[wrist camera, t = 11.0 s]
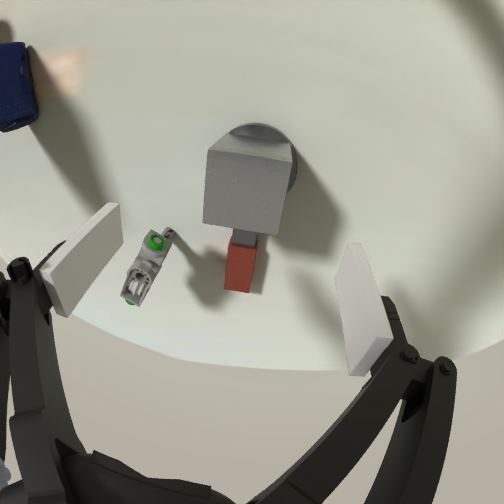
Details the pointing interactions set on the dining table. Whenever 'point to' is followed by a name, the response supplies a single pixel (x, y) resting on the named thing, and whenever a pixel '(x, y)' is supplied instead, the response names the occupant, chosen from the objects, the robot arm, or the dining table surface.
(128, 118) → the dining table surface
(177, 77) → the dining table surface
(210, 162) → the gray rectangular block
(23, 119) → the blue box
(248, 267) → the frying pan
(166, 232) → the mechanical component
